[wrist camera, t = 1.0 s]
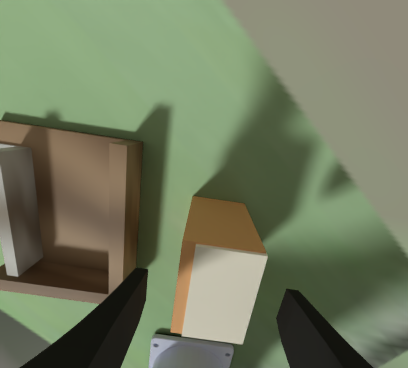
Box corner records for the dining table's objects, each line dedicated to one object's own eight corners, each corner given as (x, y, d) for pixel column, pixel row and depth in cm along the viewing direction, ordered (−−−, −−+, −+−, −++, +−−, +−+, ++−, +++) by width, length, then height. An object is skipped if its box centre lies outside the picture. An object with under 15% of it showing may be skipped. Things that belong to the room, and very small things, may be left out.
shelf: (135, 278, 17) (121, 306, 15) (21, 262, 17) (-14, 288, 14) (143, 141, 14) (127, 145, 11) (0, 119, 14) (-52, 118, 11)
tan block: (230, 267, 17) (242, 345, 11) (183, 260, 17) (169, 336, 11) (245, 203, 15) (268, 254, 9) (192, 195, 15) (182, 242, 9)
